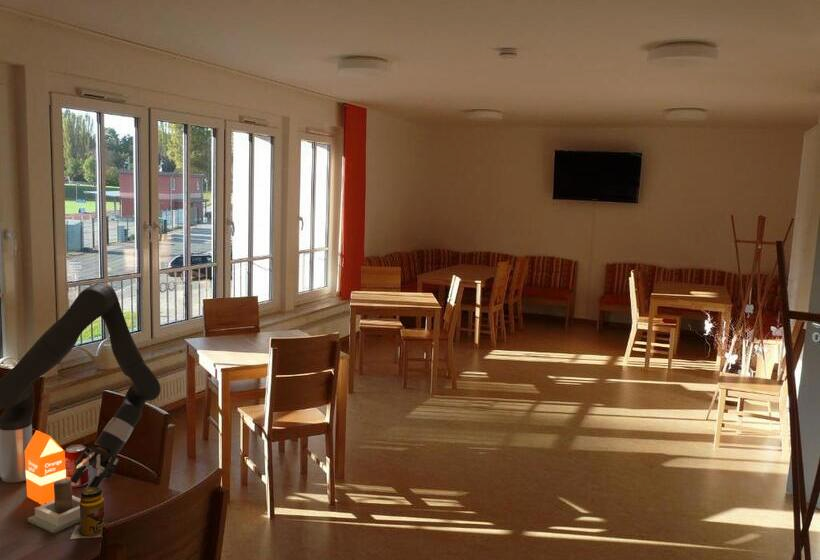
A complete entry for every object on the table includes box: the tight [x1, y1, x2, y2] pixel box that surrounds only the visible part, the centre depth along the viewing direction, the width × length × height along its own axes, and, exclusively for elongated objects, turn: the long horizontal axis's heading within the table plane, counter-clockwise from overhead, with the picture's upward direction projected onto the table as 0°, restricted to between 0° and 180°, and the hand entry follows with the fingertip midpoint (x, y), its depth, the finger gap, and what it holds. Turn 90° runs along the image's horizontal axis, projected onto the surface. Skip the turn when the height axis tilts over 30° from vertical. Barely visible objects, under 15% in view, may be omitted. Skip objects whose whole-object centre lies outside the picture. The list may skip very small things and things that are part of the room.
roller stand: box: [27, 494, 81, 534], centre depth 200 cm, size 12×14×4 cm
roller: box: [54, 479, 73, 514], centre depth 200 cm, size 4×4×10 cm
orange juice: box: [24, 429, 66, 506], centre depth 211 cm, size 8×9×20 cm
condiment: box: [69, 486, 108, 540], centre depth 192 cm, size 7×8×12 cm
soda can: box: [65, 444, 90, 489], centre depth 220 cm, size 7×7×12 cm
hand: (81, 485), depth 204 cm, fingers open, 8 cm apart
